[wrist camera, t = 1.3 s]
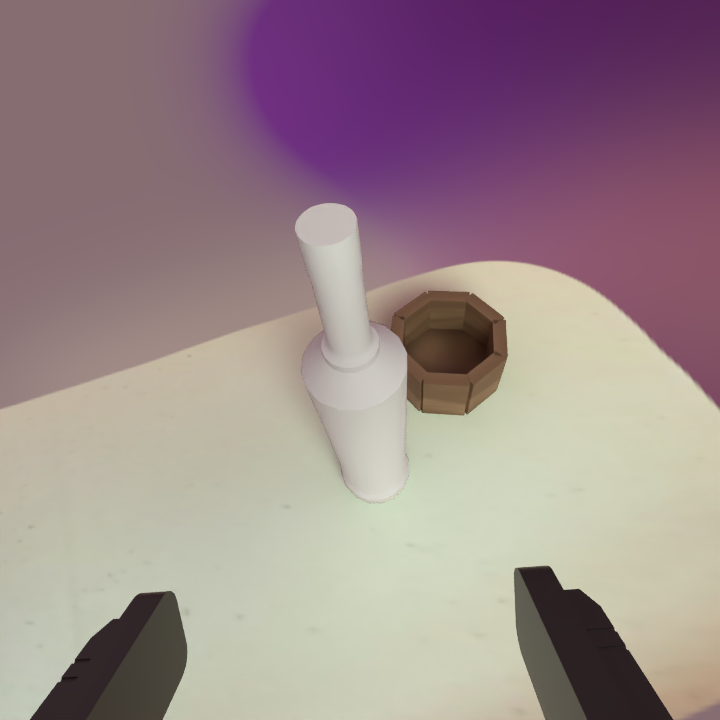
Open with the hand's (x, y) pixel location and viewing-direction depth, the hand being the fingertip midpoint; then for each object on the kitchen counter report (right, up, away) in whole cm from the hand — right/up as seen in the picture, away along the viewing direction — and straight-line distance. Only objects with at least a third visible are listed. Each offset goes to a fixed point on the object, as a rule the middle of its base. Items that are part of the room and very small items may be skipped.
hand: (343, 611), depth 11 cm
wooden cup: (+8, +5, +30) cm, 31 cm away
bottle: (+2, -3, +25) cm, 26 cm away
